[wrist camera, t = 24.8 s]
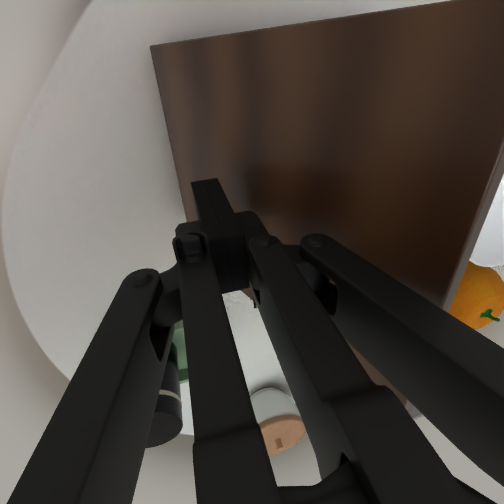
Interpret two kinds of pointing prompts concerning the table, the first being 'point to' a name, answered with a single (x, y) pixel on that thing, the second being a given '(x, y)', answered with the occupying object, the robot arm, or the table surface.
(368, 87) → the lid
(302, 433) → the trinket box
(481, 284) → the fruit
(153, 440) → the black canister
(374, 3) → the table surface
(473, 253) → the bowl
